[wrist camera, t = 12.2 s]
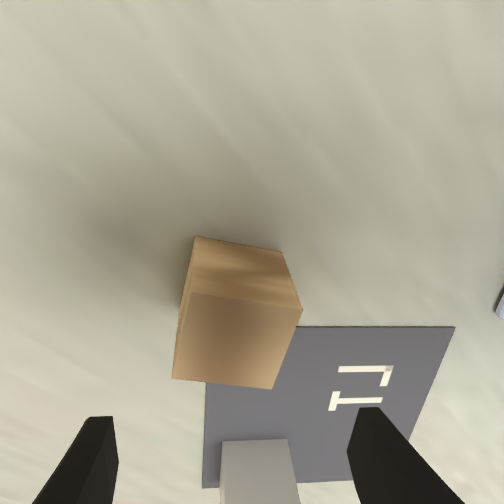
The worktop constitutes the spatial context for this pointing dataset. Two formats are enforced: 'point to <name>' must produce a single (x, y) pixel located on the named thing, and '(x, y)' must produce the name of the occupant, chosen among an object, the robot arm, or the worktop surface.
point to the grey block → (257, 473)
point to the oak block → (235, 315)
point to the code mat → (327, 395)
